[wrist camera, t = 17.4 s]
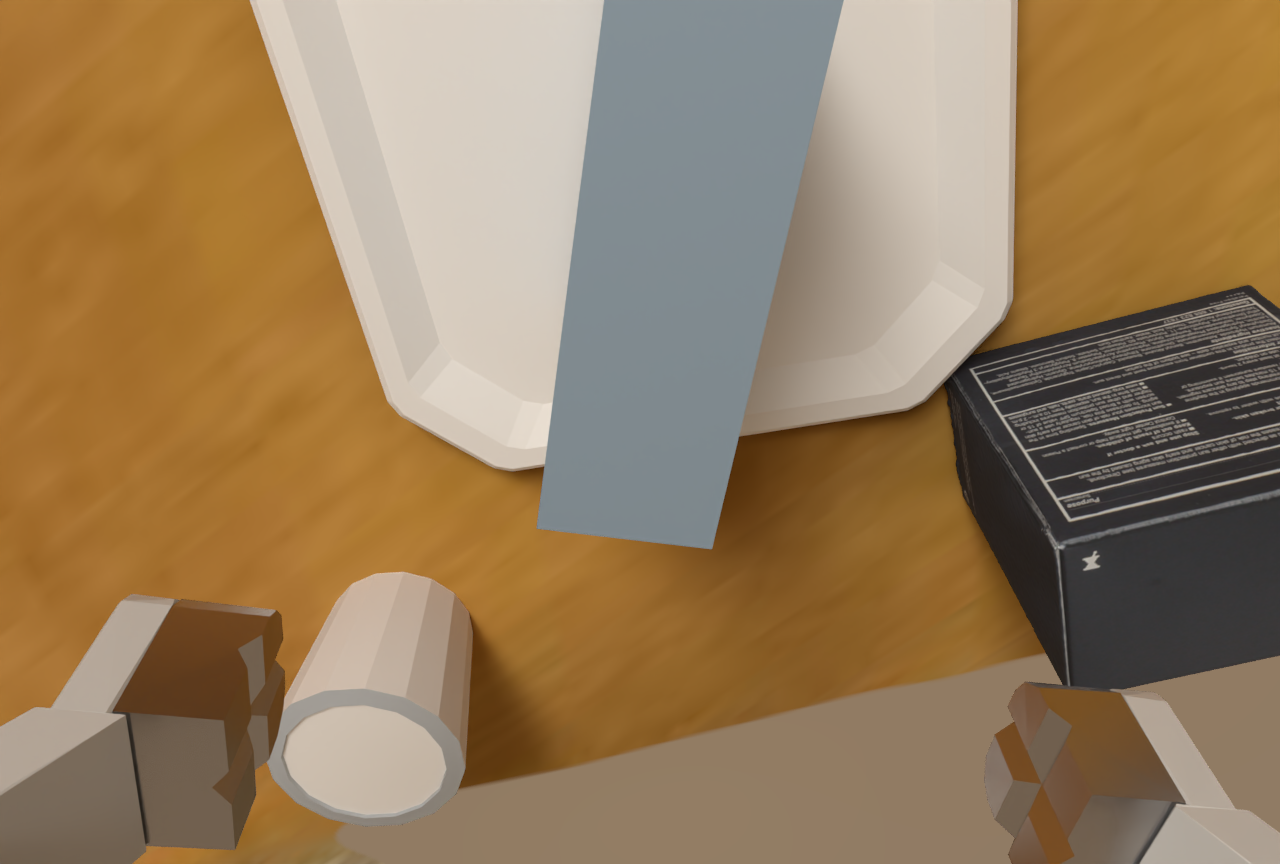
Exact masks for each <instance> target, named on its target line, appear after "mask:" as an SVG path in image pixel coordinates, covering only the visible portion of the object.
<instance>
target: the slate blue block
mask: <svg viewBox="0 0 1280 864" xmlns="http://www.w3.org/2000/svg"><path fill="white" fill-rule="evenodd" d="M843 1H844V0H604V5H603V13H602V21H601V28H600V36H599V44H598V52H597V60H596V67H595V75H594V83H593V91H592V99H591V106H590V114H589V122H588V130H587V138H586V146H585V153H584V161H583V169H582V177H581V185H580V192H579V200H578V208H577V216H576V224H575V231H574V239H573V247H572V255H571V263H570V270H569V278H568V286H567V294H566V302H565V309H564V317H563V325H562V333H561V341H560V349H559V356H558V364H557V372H556V380H555V388H554V396H553V404H552V411H551V419H550V427H549V435H548V443H547V451H546V459H545V466H544V474H543V482H542V490H541V498H540V506H539V514H538V521H537V529H544V530H553V531H561V532H570V533H578V534H587V535H595V536H604V537H612V538H620V539H629V540H637V541H646V542H654V543H663V544H671V545H680V546H688V547H697V548H705V549H712V547H713V543H714V539H715V534H716V530H717V526H718V522H719V518H720V514H721V509H722V505H723V501H724V497H725V493H726V489H727V484H728V480H729V476H730V472H731V468H732V464H733V459H734V455H735V451H736V447H737V443H738V439H739V434H740V430H741V426H742V422H743V418H744V414H745V410H746V405H747V401H748V397H749V393H750V389H751V385H752V380H753V376H754V372H755V368H756V364H757V360H758V355H759V351H760V347H761V343H762V339H763V335H764V330H765V326H766V322H767V318H768V314H769V310H770V305H771V301H772V297H773V293H774V289H775V285H776V280H777V276H778V272H779V268H780V264H781V260H782V255H783V251H784V247H785V243H786V239H787V235H788V230H789V226H790V222H791V218H792V214H793V210H794V205H795V201H796V197H797V193H798V189H799V185H800V180H801V176H802V172H803V168H804V164H805V160H806V155H807V151H808V147H809V143H810V139H811V135H812V131H813V126H814V122H815V118H816V114H817V110H818V106H819V101H820V97H821V93H822V89H823V85H824V81H825V76H826V72H827V68H828V64H829V60H830V56H831V51H832V47H833V43H834V39H835V35H836V31H837V26H838V22H839V18H840V14H841V10H842V6H843Z"/></svg>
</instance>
